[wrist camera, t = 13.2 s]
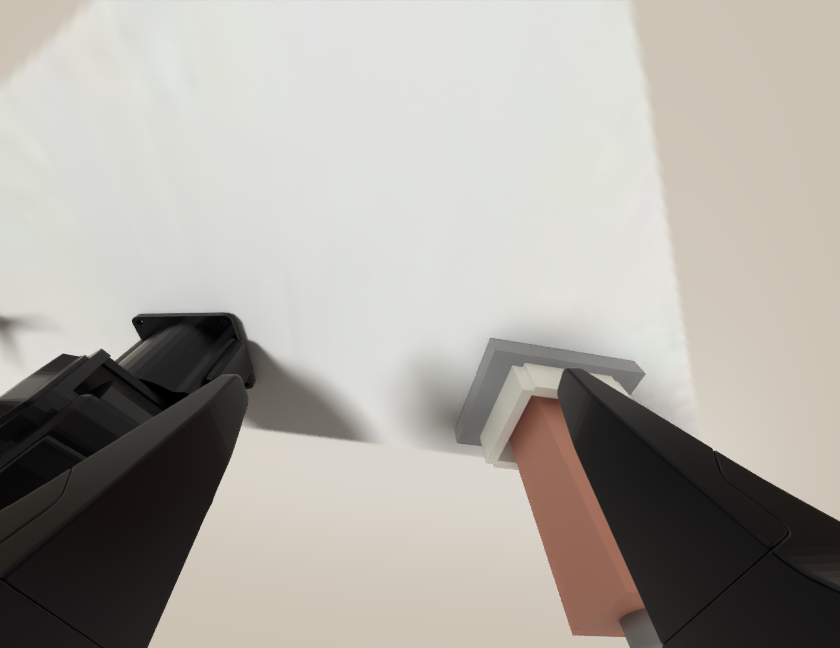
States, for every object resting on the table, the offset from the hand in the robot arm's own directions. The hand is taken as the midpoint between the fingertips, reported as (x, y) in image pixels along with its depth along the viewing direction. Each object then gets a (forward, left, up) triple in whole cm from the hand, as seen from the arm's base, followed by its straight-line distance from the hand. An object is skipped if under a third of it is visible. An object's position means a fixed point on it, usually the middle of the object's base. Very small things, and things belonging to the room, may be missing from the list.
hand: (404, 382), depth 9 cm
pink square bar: (+11, -13, -12) cm, 21 cm away
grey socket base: (+11, -14, -13) cm, 22 cm away
